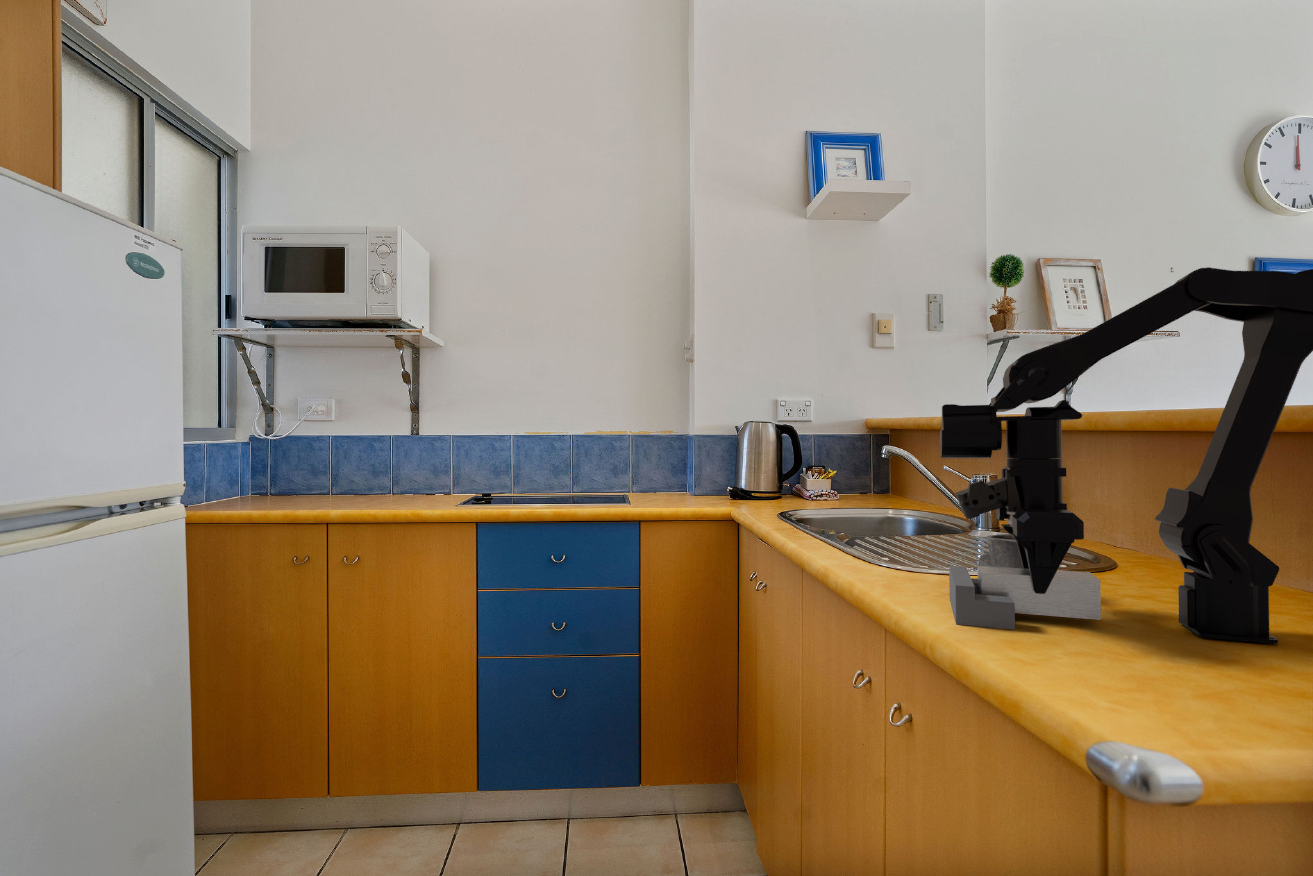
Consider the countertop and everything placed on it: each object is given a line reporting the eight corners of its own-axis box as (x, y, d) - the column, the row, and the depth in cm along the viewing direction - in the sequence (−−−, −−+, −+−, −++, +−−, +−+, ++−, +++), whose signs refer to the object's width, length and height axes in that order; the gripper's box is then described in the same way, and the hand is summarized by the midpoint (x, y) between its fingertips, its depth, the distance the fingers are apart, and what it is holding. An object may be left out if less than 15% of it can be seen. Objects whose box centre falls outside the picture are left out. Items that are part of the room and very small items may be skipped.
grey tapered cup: (1006, 579, 97) (1006, 527, 97) (1049, 600, 84) (1048, 540, 84) (965, 579, 97) (964, 527, 97) (1001, 599, 85) (1000, 539, 85)
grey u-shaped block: (1000, 603, 82) (999, 568, 82) (1015, 629, 71) (1014, 589, 71) (949, 599, 84) (949, 565, 85) (955, 624, 73) (955, 585, 73)
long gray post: (1090, 609, 75) (1089, 572, 75) (1101, 619, 71) (1100, 579, 71) (978, 601, 80) (977, 565, 80) (981, 610, 75) (981, 572, 75)
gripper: (954, 457, 87) (956, 569, 87) (965, 460, 70) (967, 601, 70) (1047, 457, 83) (1049, 575, 83) (1084, 460, 66) (1086, 610, 65)
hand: (1035, 588), depth 75 cm, fingers closed on long gray post, 4 cm apart
